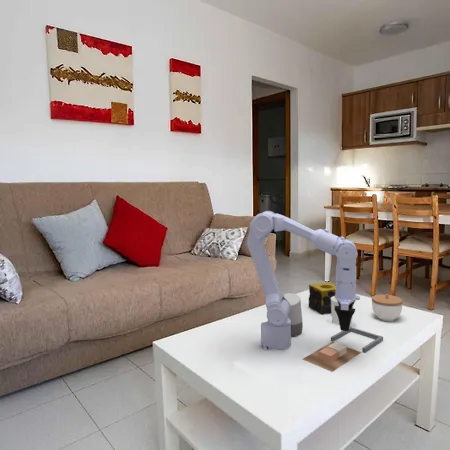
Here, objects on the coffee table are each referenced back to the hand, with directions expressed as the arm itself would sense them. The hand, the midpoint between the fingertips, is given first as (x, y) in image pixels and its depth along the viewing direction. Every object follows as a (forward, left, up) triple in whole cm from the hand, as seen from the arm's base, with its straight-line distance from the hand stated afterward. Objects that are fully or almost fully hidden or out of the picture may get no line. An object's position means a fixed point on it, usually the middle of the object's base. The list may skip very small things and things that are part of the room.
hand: (345, 325), depth 108 cm
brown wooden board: (-4, -2, -10) cm, 11 cm away
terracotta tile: (-6, -4, -8) cm, 11 cm away
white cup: (+7, +23, -10) cm, 26 cm away
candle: (+6, +40, -10) cm, 42 cm away
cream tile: (-3, -1, -8) cm, 9 cm away
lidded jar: (+26, +28, -10) cm, 40 cm away
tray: (+6, +7, -10) cm, 13 cm away
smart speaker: (-14, +16, -10) cm, 23 cm away
